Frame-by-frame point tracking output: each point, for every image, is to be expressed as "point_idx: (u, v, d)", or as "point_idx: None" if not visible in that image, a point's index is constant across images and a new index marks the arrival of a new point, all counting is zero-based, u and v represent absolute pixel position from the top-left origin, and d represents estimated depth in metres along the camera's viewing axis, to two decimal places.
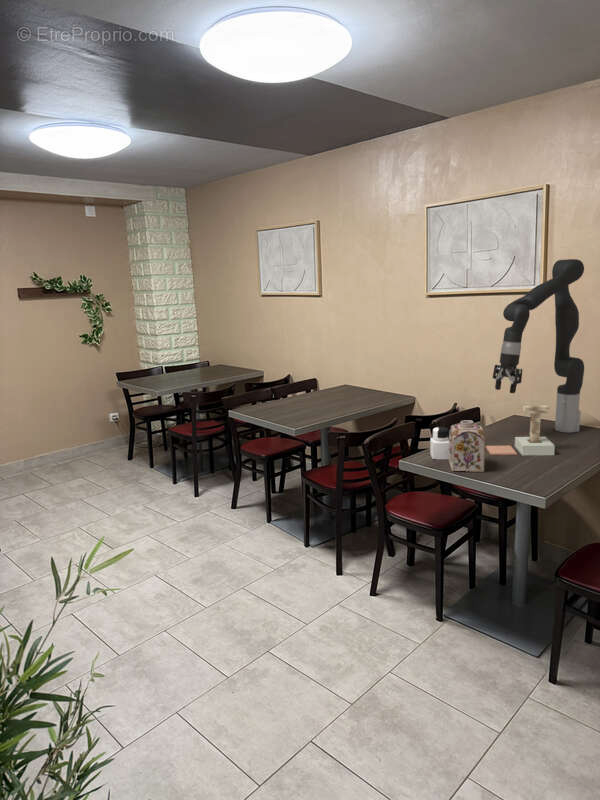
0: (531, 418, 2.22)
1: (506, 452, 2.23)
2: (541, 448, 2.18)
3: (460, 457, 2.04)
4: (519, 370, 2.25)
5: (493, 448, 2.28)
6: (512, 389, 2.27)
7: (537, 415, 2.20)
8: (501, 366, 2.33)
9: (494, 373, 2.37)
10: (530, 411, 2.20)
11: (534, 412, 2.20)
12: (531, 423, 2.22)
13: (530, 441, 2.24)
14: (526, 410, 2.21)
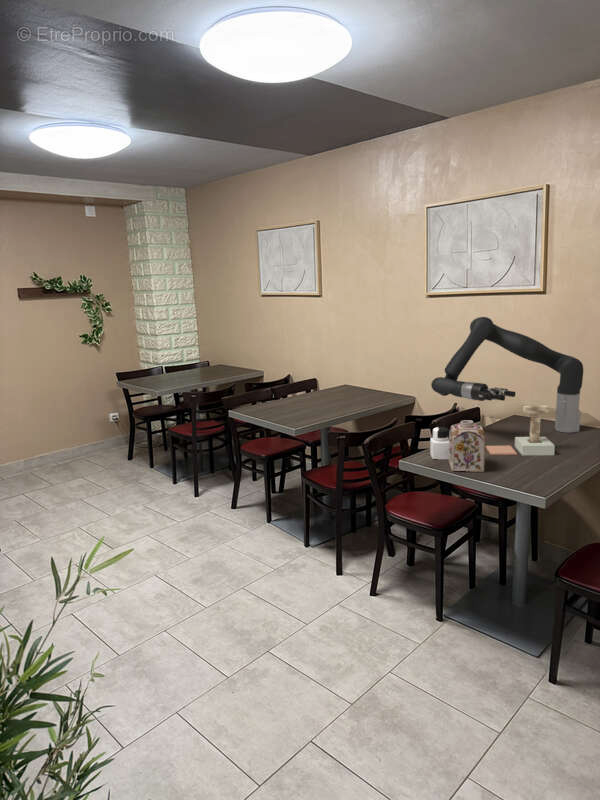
0: (531, 418, 2.22)
1: (506, 452, 2.23)
2: (541, 448, 2.18)
3: (460, 457, 2.04)
4: (479, 396, 2.31)
5: (493, 448, 2.28)
6: (500, 399, 2.27)
7: (537, 415, 2.20)
8: None
9: None
10: (530, 411, 2.20)
11: (534, 412, 2.20)
12: (531, 423, 2.22)
13: (530, 441, 2.24)
14: (526, 410, 2.21)
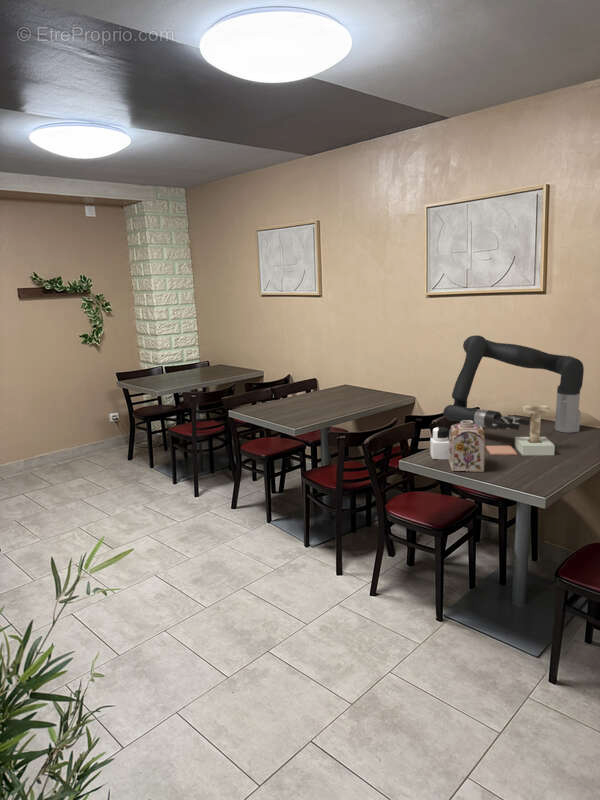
0: (531, 418, 2.22)
1: (506, 452, 2.23)
2: (541, 448, 2.18)
3: (460, 457, 2.04)
4: (493, 425, 2.29)
5: (493, 448, 2.28)
6: (514, 428, 2.24)
7: (538, 415, 2.20)
8: None
9: None
10: (530, 411, 2.20)
11: (534, 412, 2.20)
12: (531, 423, 2.22)
13: (530, 441, 2.24)
14: (526, 410, 2.21)
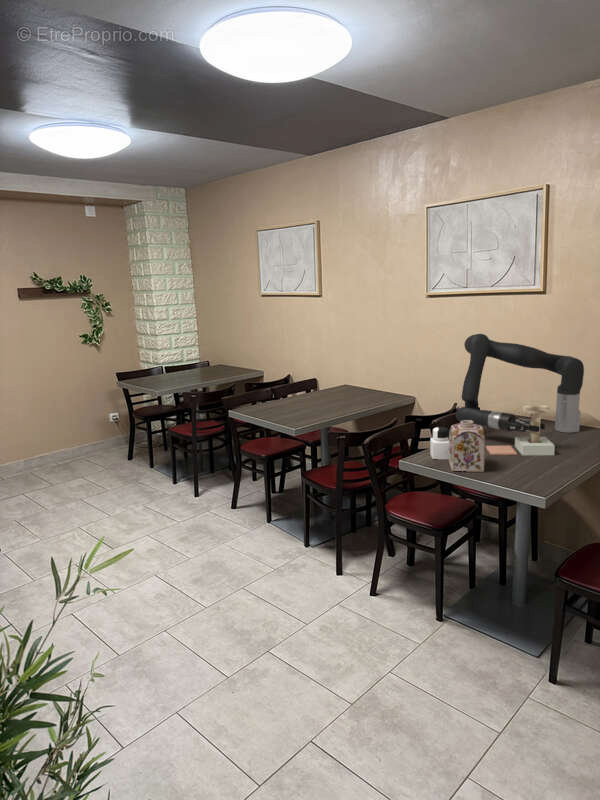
0: (531, 418, 2.22)
1: (506, 452, 2.23)
2: (541, 448, 2.18)
3: (460, 457, 2.04)
4: (511, 428, 2.23)
5: (493, 448, 2.28)
6: (534, 430, 2.20)
7: (538, 415, 2.20)
8: None
9: None
10: (530, 411, 2.20)
11: (534, 412, 2.20)
12: (531, 423, 2.22)
13: (530, 441, 2.24)
14: (526, 410, 2.21)
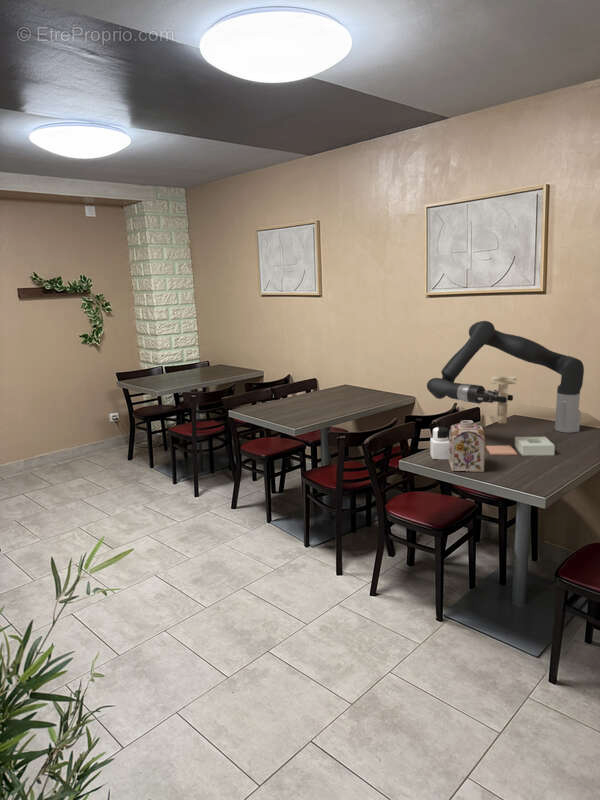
0: (499, 389, 2.21)
1: (506, 452, 2.23)
2: (541, 448, 2.18)
3: (460, 457, 2.04)
4: (479, 399, 2.22)
5: (493, 448, 2.28)
6: (501, 401, 2.19)
7: (505, 386, 2.19)
8: None
9: None
10: (498, 382, 2.19)
11: (502, 383, 2.19)
12: (499, 394, 2.21)
13: (498, 413, 2.23)
14: (494, 381, 2.19)
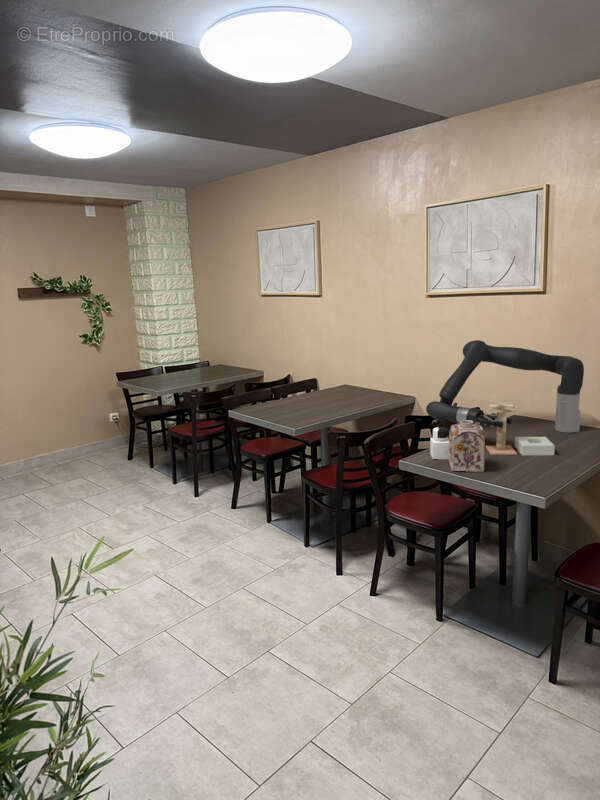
0: (497, 417, 2.24)
1: (506, 452, 2.23)
2: (541, 448, 2.18)
3: (460, 457, 2.04)
4: (476, 423, 2.25)
5: (493, 448, 2.28)
6: (498, 426, 2.21)
7: (503, 414, 2.22)
8: None
9: None
10: (496, 410, 2.22)
11: (500, 411, 2.22)
12: None
13: (497, 440, 2.26)
14: (492, 409, 2.22)
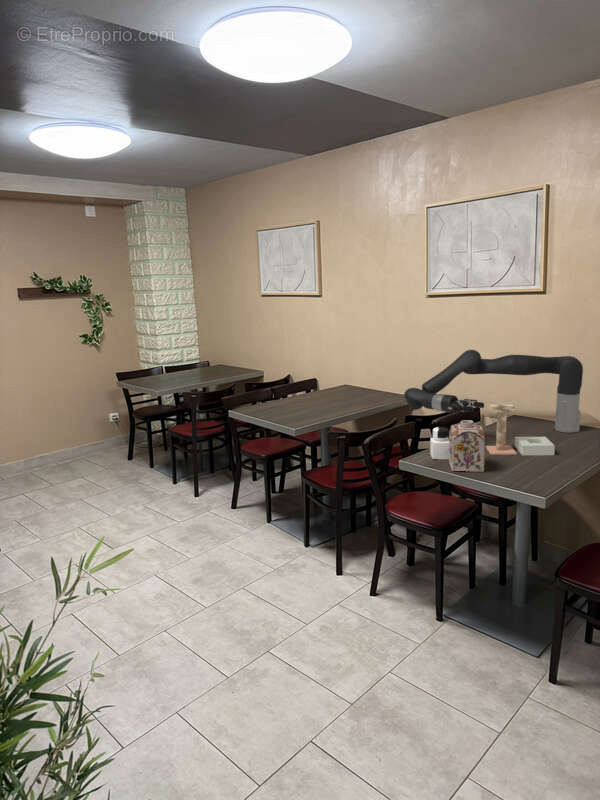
0: (497, 417, 2.24)
1: (506, 452, 2.23)
2: (541, 448, 2.18)
3: (460, 457, 2.04)
4: (448, 408, 2.34)
5: (493, 448, 2.28)
6: (468, 411, 2.29)
7: (503, 414, 2.22)
8: None
9: None
10: (496, 410, 2.22)
11: (500, 411, 2.22)
12: (497, 422, 2.24)
13: (497, 440, 2.26)
14: (492, 409, 2.22)
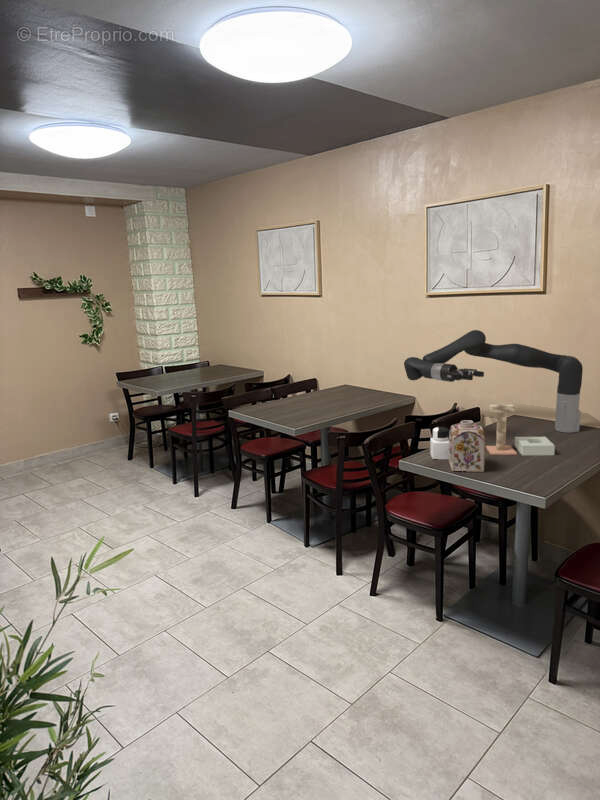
0: (497, 417, 2.24)
1: (506, 452, 2.23)
2: (541, 448, 2.18)
3: (460, 457, 2.04)
4: (448, 376, 2.31)
5: (493, 448, 2.28)
6: (467, 379, 2.26)
7: (503, 414, 2.22)
8: None
9: (471, 374, 2.37)
10: (496, 410, 2.22)
11: (500, 411, 2.22)
12: (497, 422, 2.24)
13: (497, 440, 2.26)
14: (492, 409, 2.22)
